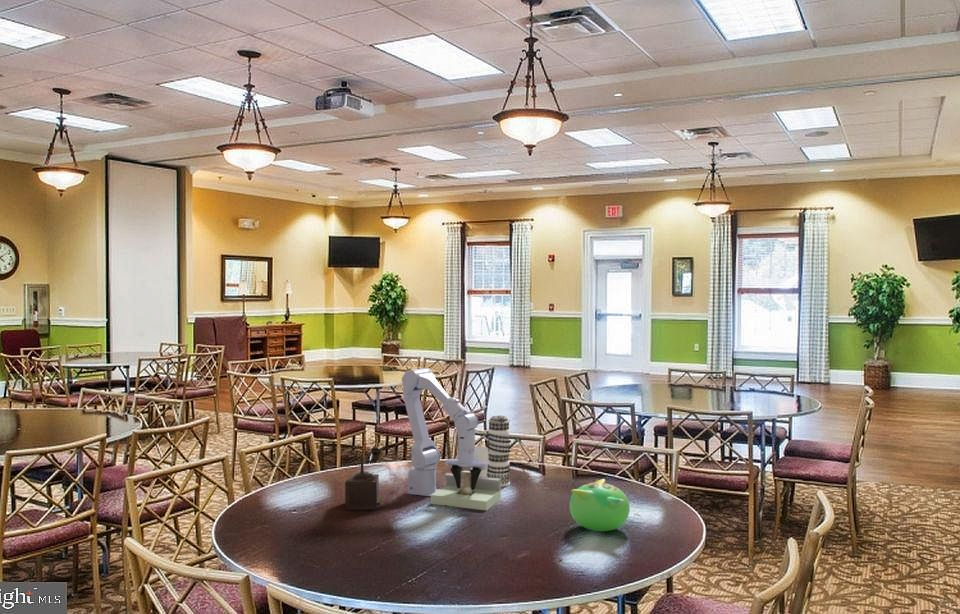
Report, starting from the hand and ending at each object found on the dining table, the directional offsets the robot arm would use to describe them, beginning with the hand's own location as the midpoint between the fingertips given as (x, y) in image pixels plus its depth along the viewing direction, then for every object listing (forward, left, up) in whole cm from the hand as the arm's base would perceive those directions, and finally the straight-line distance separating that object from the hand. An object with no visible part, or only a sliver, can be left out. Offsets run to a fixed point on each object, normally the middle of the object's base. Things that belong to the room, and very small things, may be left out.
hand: (466, 488), depth 249 cm
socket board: (0, 0, -4) cm, 4 cm away
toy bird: (+48, -12, -5) cm, 50 cm away
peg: (0, 0, -4) cm, 4 cm away
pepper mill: (-31, -15, -5) cm, 35 cm away
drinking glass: (-1, +15, -5) cm, 16 cm away
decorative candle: (+3, +25, -5) cm, 26 cm away
